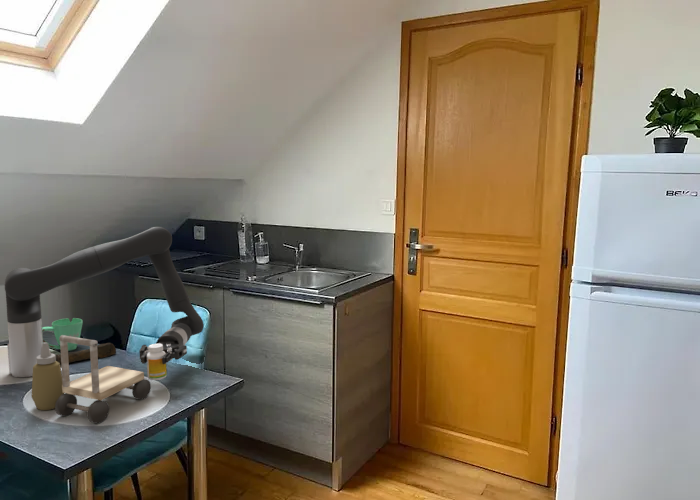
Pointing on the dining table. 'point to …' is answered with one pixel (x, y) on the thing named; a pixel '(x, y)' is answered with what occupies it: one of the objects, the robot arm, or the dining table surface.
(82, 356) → the hand tool
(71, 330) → the mug
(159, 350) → the supplement bottle
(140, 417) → the dining table surface
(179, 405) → the dining table surface
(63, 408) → the trolley
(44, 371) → the squeeze bottle
